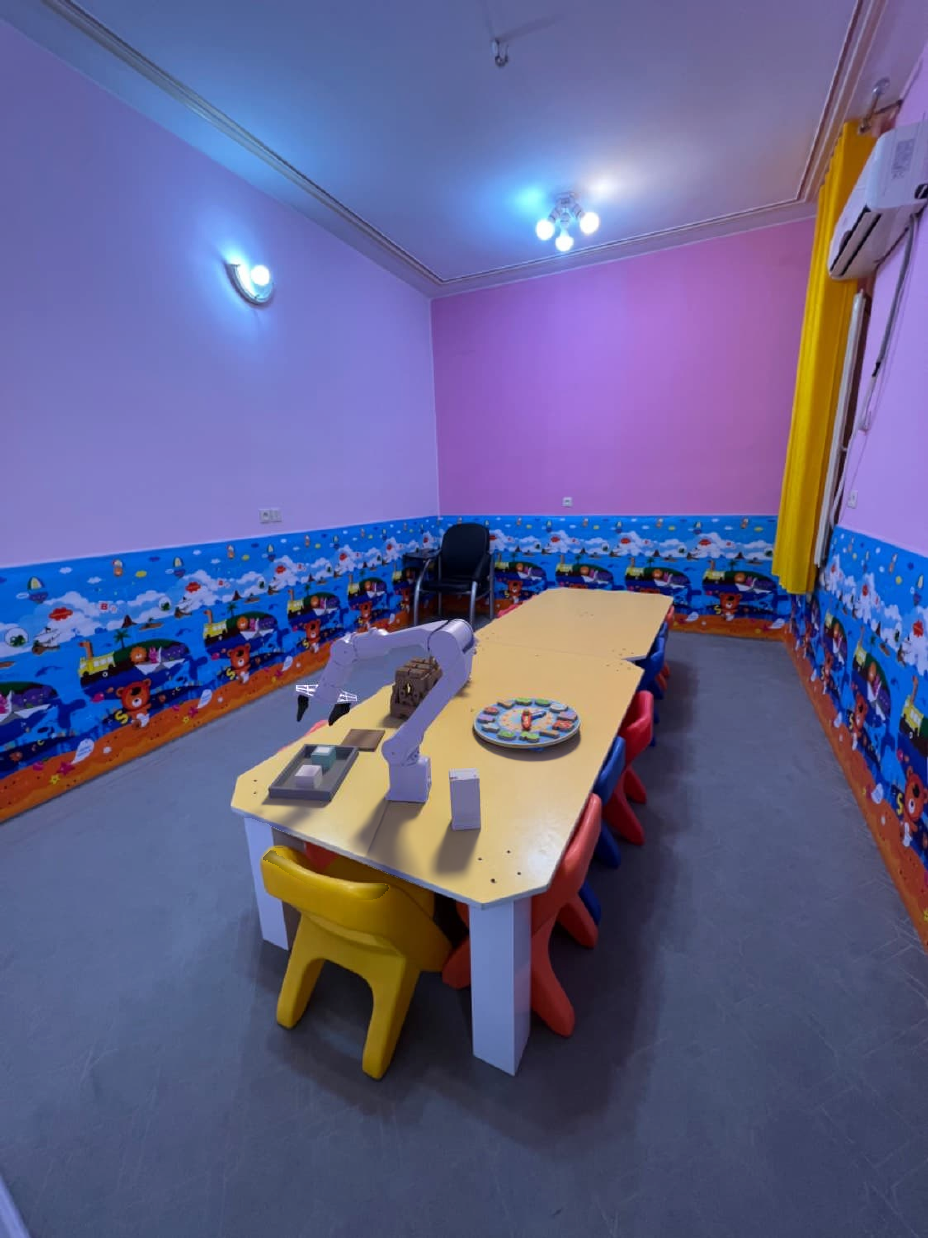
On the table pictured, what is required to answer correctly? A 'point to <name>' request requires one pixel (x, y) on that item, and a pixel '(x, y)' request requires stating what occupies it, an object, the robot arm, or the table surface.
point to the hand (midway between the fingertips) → (314, 721)
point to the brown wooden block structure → (413, 685)
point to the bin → (331, 778)
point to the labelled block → (324, 756)
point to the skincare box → (465, 798)
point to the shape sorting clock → (527, 723)
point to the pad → (364, 738)
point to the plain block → (309, 776)
